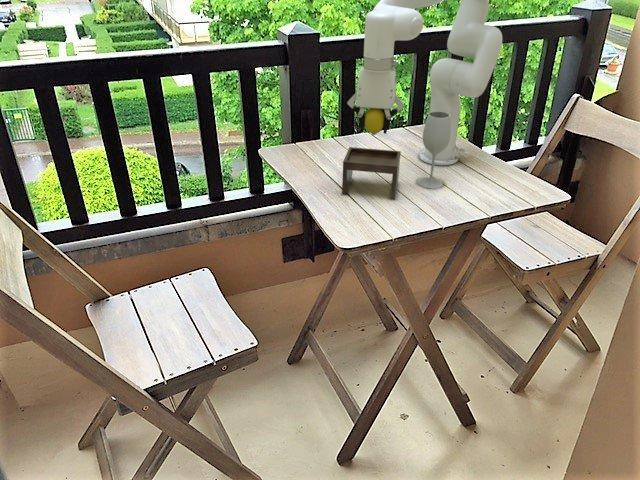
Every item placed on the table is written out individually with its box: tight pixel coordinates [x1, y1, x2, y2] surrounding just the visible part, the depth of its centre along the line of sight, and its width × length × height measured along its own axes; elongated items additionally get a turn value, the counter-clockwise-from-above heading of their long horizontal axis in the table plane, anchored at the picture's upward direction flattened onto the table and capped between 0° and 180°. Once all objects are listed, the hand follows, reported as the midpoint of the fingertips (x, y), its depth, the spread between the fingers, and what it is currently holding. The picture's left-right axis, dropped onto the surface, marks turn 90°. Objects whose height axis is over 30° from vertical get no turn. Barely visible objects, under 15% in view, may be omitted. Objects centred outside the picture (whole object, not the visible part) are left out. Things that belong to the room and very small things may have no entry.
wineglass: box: [417, 111, 451, 190], centre depth 152 cm, size 8×8×21 cm
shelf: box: [341, 146, 402, 201], centre depth 151 cm, size 15×11×10 cm
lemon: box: [364, 108, 386, 136], centre depth 143 cm, size 6×6×8 cm
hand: (373, 130), depth 144 cm, fingers closed on lemon, 5 cm apart
